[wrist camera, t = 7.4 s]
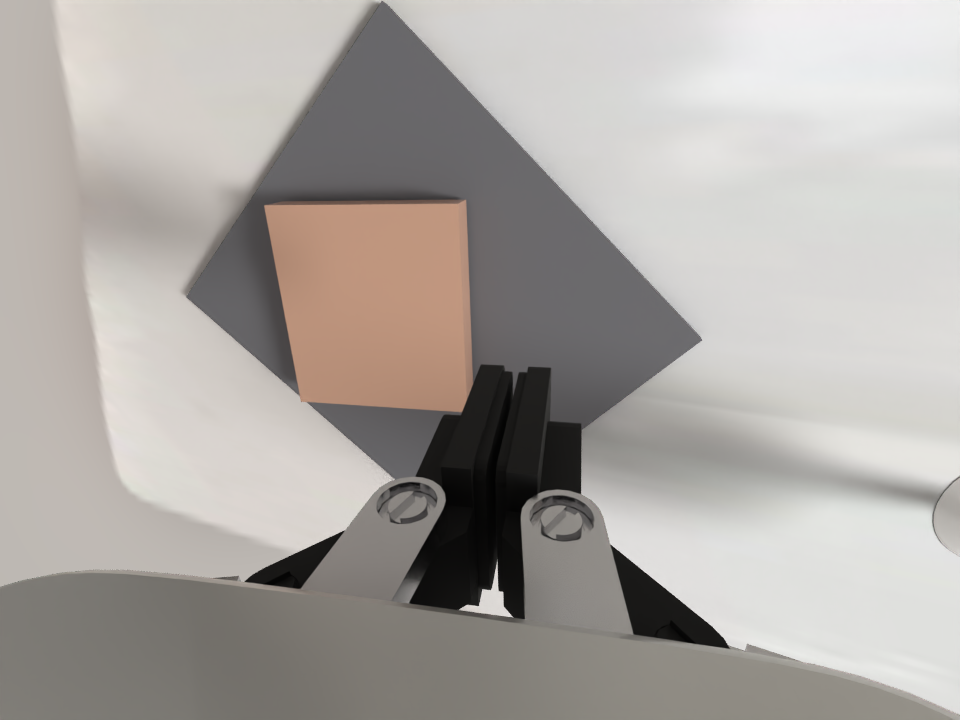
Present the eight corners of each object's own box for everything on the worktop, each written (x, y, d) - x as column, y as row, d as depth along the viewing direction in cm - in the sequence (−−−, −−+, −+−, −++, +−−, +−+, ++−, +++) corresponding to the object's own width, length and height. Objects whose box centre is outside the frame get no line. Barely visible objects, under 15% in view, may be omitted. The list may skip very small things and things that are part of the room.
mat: (192, 294, 28) (186, 296, 28) (386, 3, 21) (382, 0, 21) (452, 521, 31) (450, 527, 31) (699, 336, 24) (702, 340, 24)
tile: (467, 198, 23) (286, 200, 25) (458, 203, 21) (264, 205, 23) (474, 395, 27) (317, 385, 29) (467, 412, 25) (301, 401, 27)
